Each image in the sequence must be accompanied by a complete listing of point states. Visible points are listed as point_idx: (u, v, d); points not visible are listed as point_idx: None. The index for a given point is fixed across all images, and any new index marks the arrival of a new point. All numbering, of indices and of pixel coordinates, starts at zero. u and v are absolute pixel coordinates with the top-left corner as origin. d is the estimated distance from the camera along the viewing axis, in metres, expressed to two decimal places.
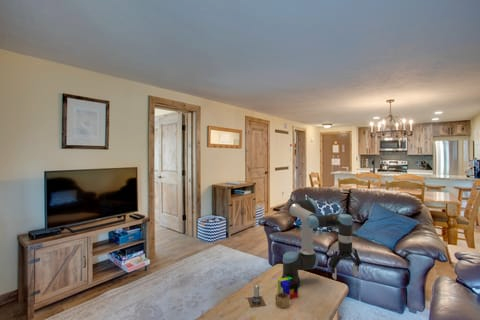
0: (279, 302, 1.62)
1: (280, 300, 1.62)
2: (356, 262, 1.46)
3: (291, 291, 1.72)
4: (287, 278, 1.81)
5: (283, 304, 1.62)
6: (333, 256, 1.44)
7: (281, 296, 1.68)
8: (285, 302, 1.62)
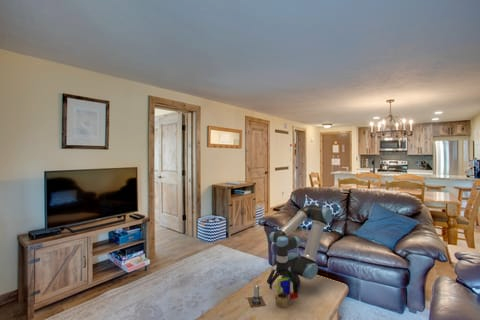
0: (279, 302, 1.62)
1: (280, 300, 1.62)
2: (292, 279, 1.65)
3: None
4: (287, 278, 1.81)
5: (283, 304, 1.62)
6: (271, 274, 1.63)
7: (281, 296, 1.68)
8: (285, 302, 1.62)
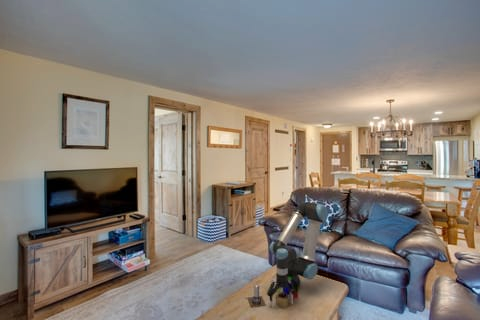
0: (279, 302, 1.62)
1: (280, 300, 1.62)
2: (292, 291, 1.65)
3: None
4: None
5: (283, 304, 1.62)
6: (271, 286, 1.64)
7: (281, 296, 1.68)
8: (285, 302, 1.62)
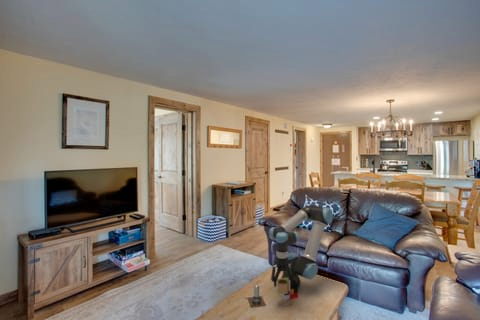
0: (280, 288, 1.62)
1: (281, 286, 1.62)
2: (289, 277, 1.65)
3: (291, 291, 1.72)
4: (287, 278, 1.81)
5: (284, 290, 1.62)
6: (272, 271, 1.64)
7: (282, 282, 1.68)
8: (286, 288, 1.62)
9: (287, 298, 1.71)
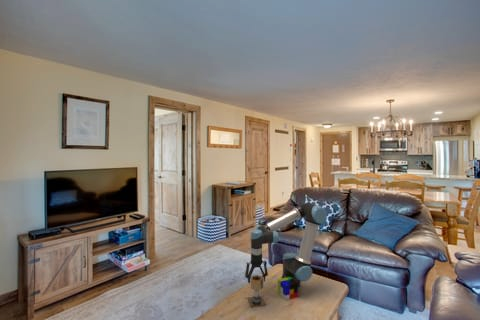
0: (253, 284, 1.65)
1: (254, 282, 1.64)
2: (263, 273, 1.68)
3: (291, 291, 1.72)
4: (287, 278, 1.81)
5: (257, 286, 1.64)
6: (246, 268, 1.66)
7: (256, 279, 1.71)
8: (259, 284, 1.64)
9: (287, 298, 1.71)
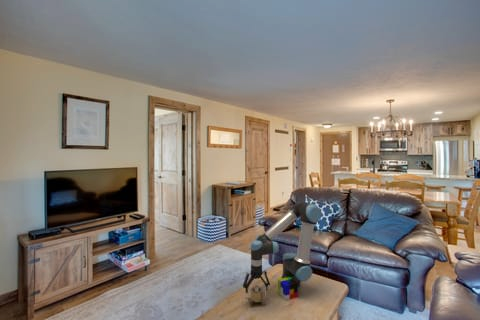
0: (253, 296, 1.65)
1: (254, 294, 1.64)
2: (265, 283, 1.68)
3: (291, 291, 1.72)
4: (287, 278, 1.81)
5: (257, 297, 1.64)
6: (246, 278, 1.66)
7: None
8: (259, 296, 1.64)
9: (287, 298, 1.71)
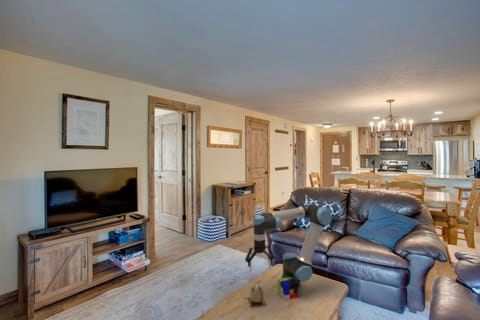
0: (253, 296, 1.65)
1: (254, 294, 1.64)
2: (269, 257, 1.69)
3: (291, 291, 1.72)
4: (287, 278, 1.81)
5: (257, 297, 1.64)
6: (248, 252, 1.67)
7: None
8: (259, 296, 1.64)
9: (287, 298, 1.71)
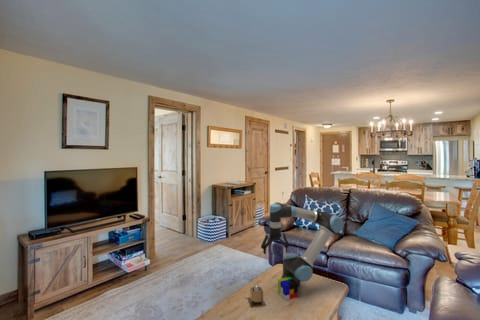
0: (253, 296, 1.65)
1: (254, 294, 1.64)
2: (284, 244, 1.72)
3: (291, 291, 1.72)
4: (287, 278, 1.81)
5: (257, 297, 1.64)
6: (264, 239, 1.70)
7: None
8: (259, 296, 1.64)
9: (287, 298, 1.71)
